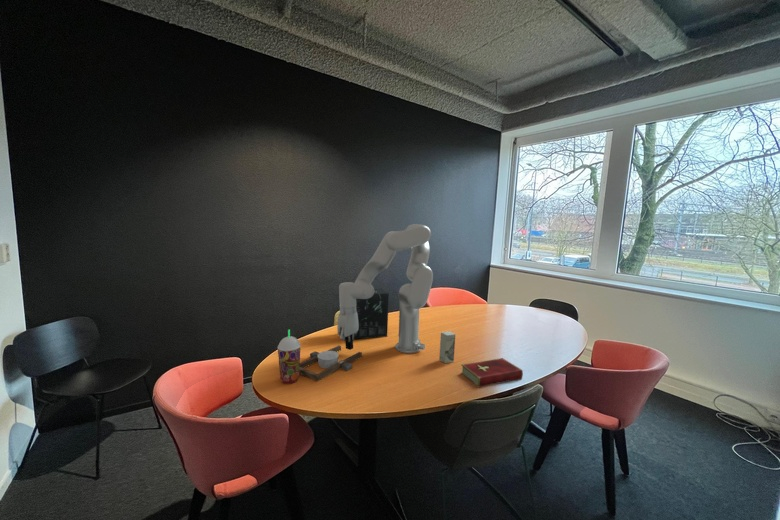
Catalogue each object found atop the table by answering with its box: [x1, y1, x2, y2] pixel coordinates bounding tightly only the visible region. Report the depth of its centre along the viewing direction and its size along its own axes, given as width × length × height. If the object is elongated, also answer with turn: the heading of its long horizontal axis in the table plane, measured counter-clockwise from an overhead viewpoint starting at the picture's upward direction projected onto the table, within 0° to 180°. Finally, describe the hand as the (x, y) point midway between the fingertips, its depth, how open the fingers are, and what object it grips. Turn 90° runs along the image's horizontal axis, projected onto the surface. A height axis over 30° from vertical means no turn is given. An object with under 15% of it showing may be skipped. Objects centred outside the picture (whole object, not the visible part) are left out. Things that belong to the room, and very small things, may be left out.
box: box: [438, 330, 456, 364], centre depth 142 cm, size 5×4×13 cm
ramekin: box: [317, 350, 339, 369], centre depth 137 cm, size 9×9×4 cm
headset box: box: [354, 288, 390, 340], centre depth 171 cm, size 22×12×26 cm, turn 111°
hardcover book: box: [460, 357, 524, 388], centre depth 130 cm, size 12×21×4 cm, turn 111°
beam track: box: [299, 345, 363, 382], centre depth 137 cm, size 22×28×2 cm
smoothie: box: [277, 329, 302, 384], centre depth 121 cm, size 8×8×20 cm
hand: (349, 348), depth 147 cm, fingers closed
